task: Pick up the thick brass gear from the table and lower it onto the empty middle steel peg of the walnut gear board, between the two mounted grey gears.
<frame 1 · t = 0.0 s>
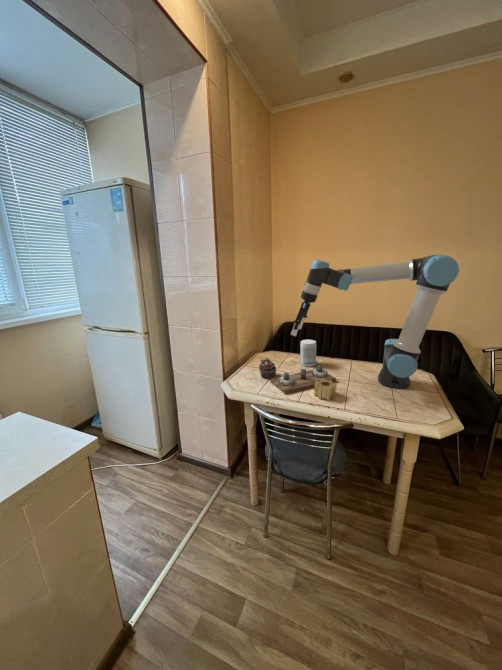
hand: (296, 331, 143), 28 cm above the table, tool tilted 20°, fingers open, 13 cm apart
gear board: (303, 382, 150), on the table
brass gear: (324, 395, 135), on the table
cupcake: (267, 376, 159), on the table
supplement tub: (308, 364, 174), on the table
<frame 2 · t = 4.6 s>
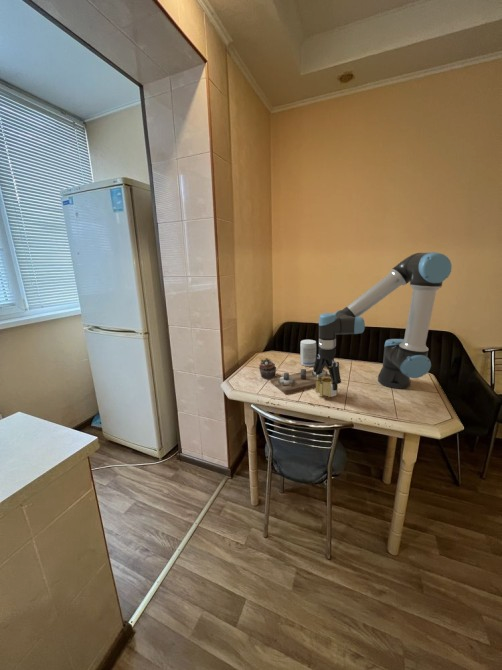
hand: (326, 391, 134), 2 cm above the table, tool pointing down, fingers closed on brass gear, 10 cm apart
brass gear: (326, 391, 134), point 2 cm above the table, touching gripper
everything else where it was.
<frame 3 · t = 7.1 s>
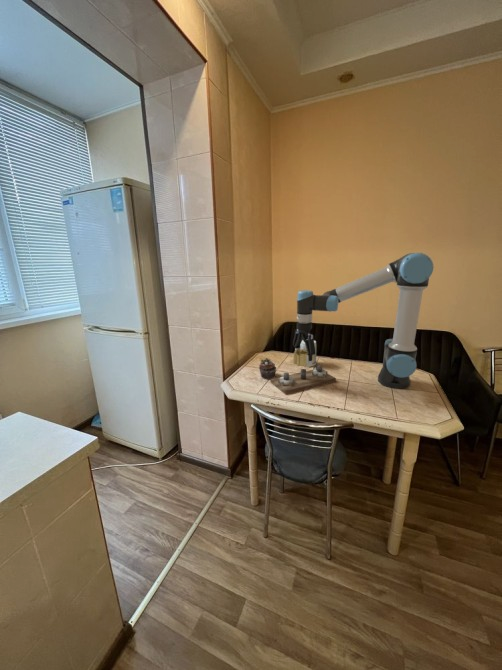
hand: (303, 362, 147), 11 cm above the table, tool pointing down, fingers closed on brass gear, 10 cm apart
brass gear: (303, 363, 147), point 11 cm above the table, touching gripper
everything else where it was.
when the fingers open (2 cm above the table, at t = 9.6 s): brass gear stays where it is, resting on gear board.
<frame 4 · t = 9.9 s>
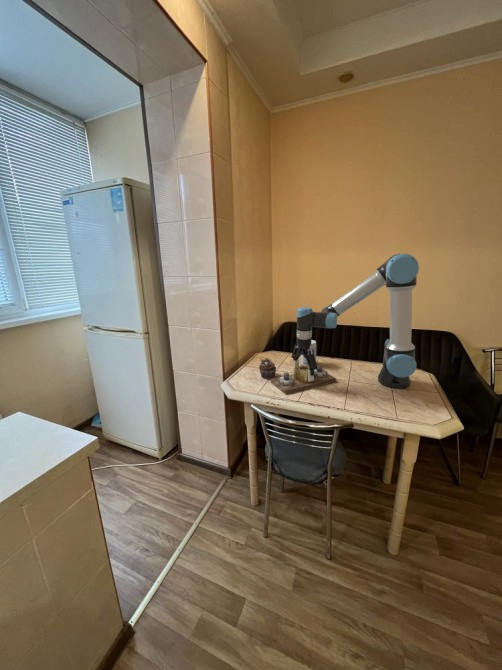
hand: (303, 376, 149), 3 cm above the table, tool pointing down, fingers open, 13 cm apart
brass gear: (303, 378, 149), point 2 cm above the table, touching gear board
everything else where it was.
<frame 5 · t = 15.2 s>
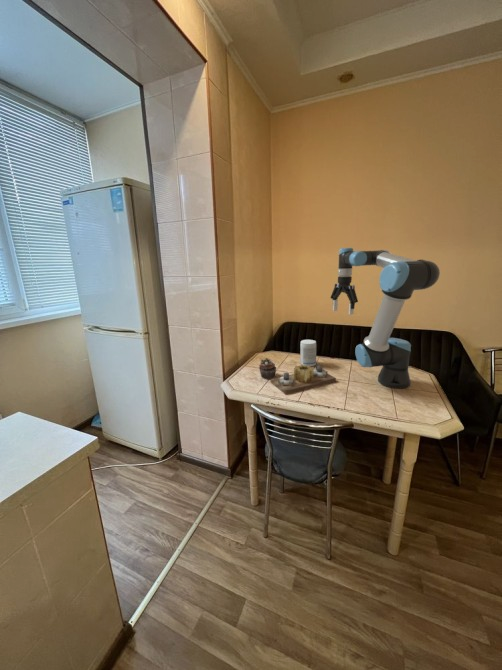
hand: (342, 312, 166), 32 cm above the table, tool pointing down, fingers open, 13 cm apart
nothing on the table moved.
at the end: brass gear 0.1 cm off-centre on the gear board, point 2.0 cm above the gear board's base; brass gear tilted 0°; the gripper is holding nothing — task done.
